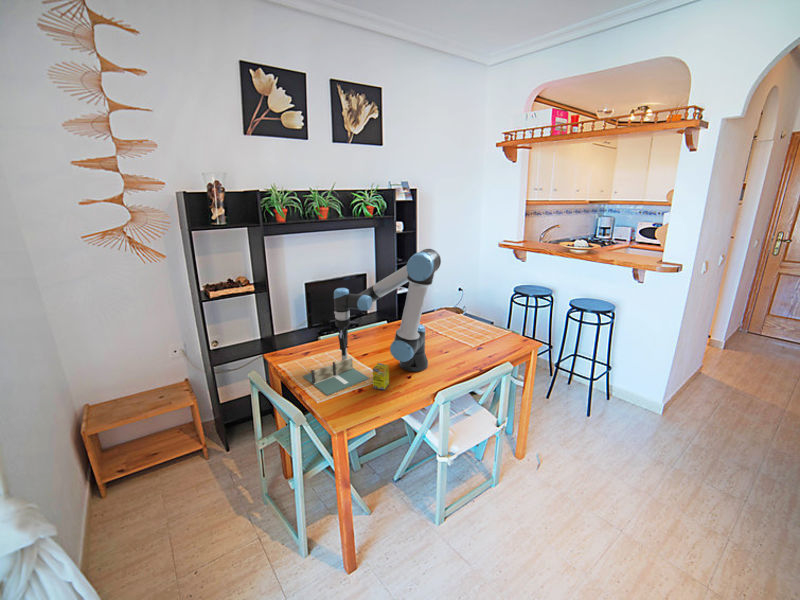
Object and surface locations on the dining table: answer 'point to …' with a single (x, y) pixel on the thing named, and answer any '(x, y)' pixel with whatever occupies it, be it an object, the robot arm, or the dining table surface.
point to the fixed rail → (322, 374)
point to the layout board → (338, 381)
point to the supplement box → (380, 376)
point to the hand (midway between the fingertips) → (344, 359)
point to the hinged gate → (342, 366)
